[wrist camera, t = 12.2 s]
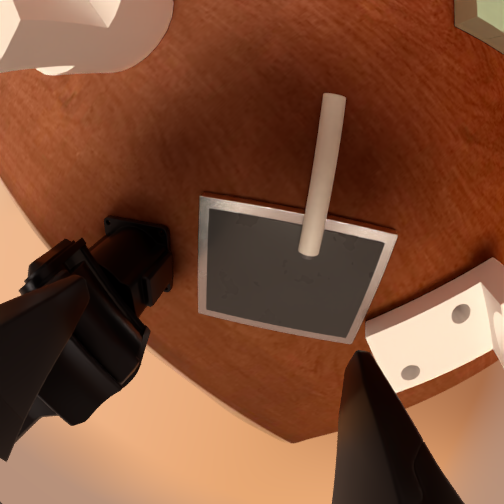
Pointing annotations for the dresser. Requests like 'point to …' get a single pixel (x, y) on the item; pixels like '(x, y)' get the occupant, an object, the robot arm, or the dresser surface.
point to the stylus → (322, 174)
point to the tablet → (287, 268)
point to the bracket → (441, 328)
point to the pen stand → (482, 20)
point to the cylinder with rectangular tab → (80, 34)
